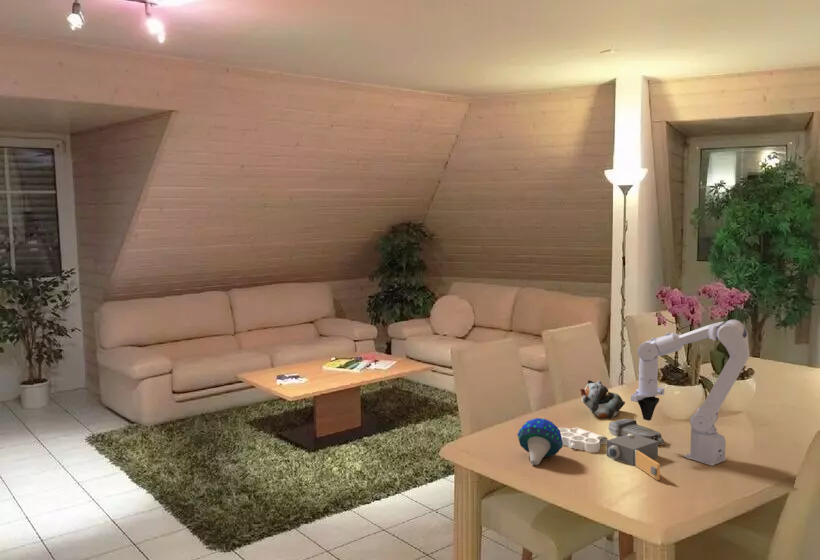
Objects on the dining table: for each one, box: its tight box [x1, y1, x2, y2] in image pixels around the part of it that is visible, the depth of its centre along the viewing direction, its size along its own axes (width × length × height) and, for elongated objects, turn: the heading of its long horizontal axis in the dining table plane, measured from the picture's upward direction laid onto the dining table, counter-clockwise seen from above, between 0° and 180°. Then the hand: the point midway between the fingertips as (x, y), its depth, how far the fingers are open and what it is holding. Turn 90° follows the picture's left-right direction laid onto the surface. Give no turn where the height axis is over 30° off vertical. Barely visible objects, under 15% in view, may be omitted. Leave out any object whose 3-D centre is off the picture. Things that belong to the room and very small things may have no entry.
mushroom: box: [517, 417, 563, 466], centre depth 214 cm, size 14×14×15 cm
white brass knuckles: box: [558, 426, 609, 453], centre depth 228 cm, size 3×18×15 cm
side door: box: [634, 450, 661, 481], centre depth 202 cm, size 2×12×5 cm, turn 13°
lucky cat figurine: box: [579, 379, 626, 420], centre depth 259 cm, size 15×12×14 cm
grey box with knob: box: [606, 433, 659, 467], centre depth 215 cm, size 10×13×6 cm
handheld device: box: [608, 418, 665, 445], centre depth 232 cm, size 10×20×5 cm, turn 33°
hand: (647, 419), depth 222 cm, fingers closed
